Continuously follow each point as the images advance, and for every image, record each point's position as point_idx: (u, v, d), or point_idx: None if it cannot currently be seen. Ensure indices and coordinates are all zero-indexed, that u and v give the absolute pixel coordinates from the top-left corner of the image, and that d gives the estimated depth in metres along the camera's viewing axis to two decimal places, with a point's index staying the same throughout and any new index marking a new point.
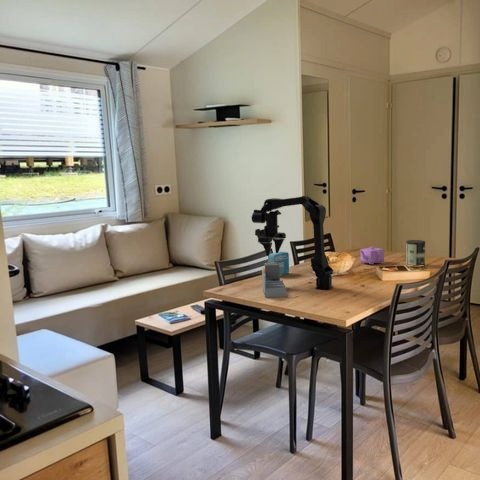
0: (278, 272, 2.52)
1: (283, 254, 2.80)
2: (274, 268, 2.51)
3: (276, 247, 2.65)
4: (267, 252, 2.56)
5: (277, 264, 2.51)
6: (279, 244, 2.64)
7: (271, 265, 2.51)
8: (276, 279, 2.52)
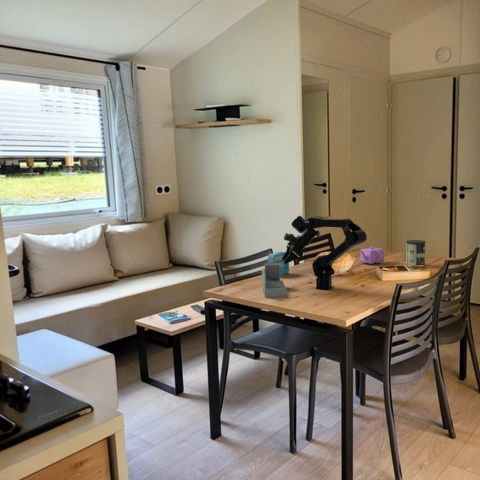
0: (278, 272, 2.52)
1: (283, 254, 2.80)
2: (274, 268, 2.51)
3: (285, 255, 2.57)
4: (287, 261, 2.47)
5: (277, 264, 2.51)
6: None
7: (271, 265, 2.51)
8: (276, 279, 2.52)
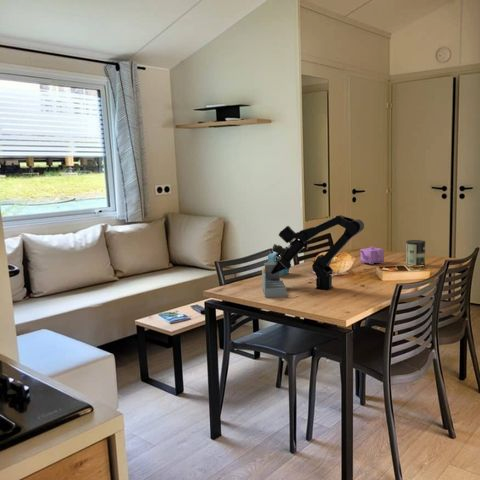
0: (278, 272, 2.52)
1: None
2: None
3: None
4: (274, 271, 2.51)
5: None
6: None
7: (271, 265, 2.51)
8: (276, 279, 2.52)
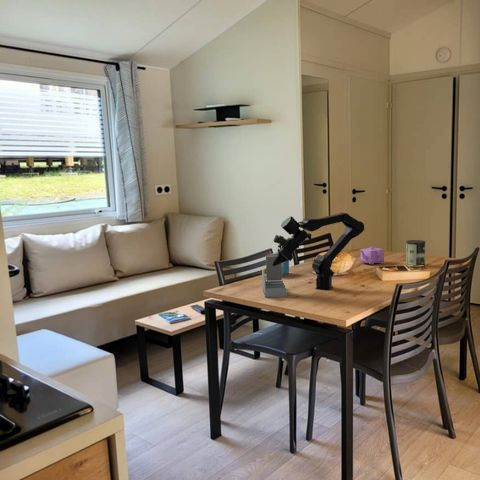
0: (280, 264, 2.40)
1: None
2: None
3: None
4: (276, 263, 2.39)
5: None
6: None
7: (273, 256, 2.40)
8: (278, 271, 2.41)
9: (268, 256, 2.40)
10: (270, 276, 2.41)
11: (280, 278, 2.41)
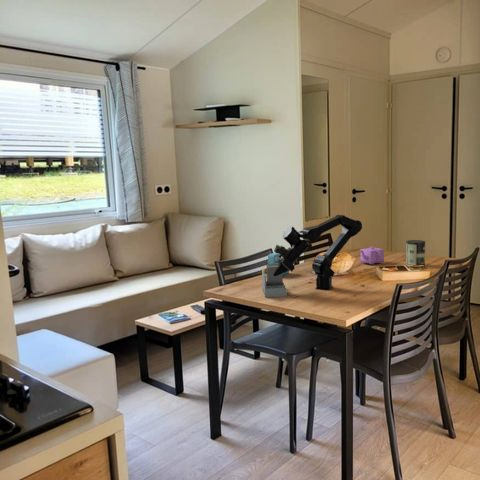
0: (281, 274, 2.40)
1: None
2: None
3: None
4: (277, 273, 2.39)
5: None
6: None
7: (274, 267, 2.39)
8: (279, 282, 2.40)
9: (269, 266, 2.39)
10: None
11: None
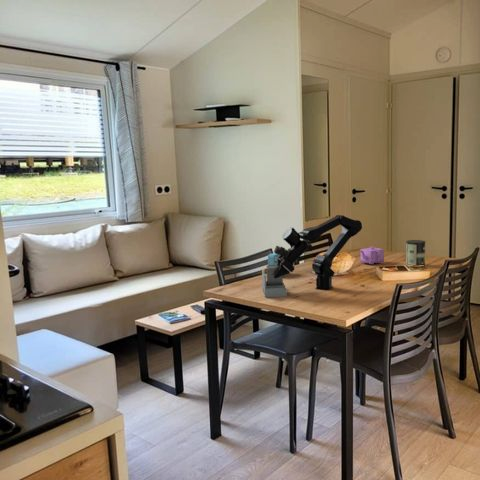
0: None
1: None
2: None
3: None
4: (277, 275, 2.36)
5: None
6: None
7: (274, 268, 2.39)
8: (279, 283, 2.40)
9: (269, 267, 2.39)
10: None
11: None
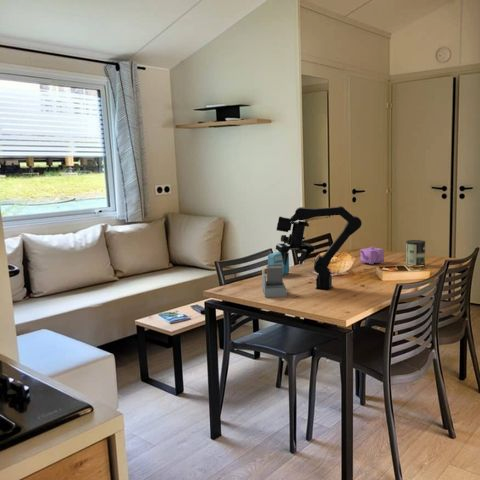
0: (281, 275, 2.40)
1: None
2: (277, 271, 2.39)
3: (301, 258, 2.51)
4: (283, 261, 2.47)
5: (280, 267, 2.39)
6: (304, 256, 2.50)
7: (274, 268, 2.39)
8: (279, 283, 2.40)
9: (269, 267, 2.39)
10: None
11: None
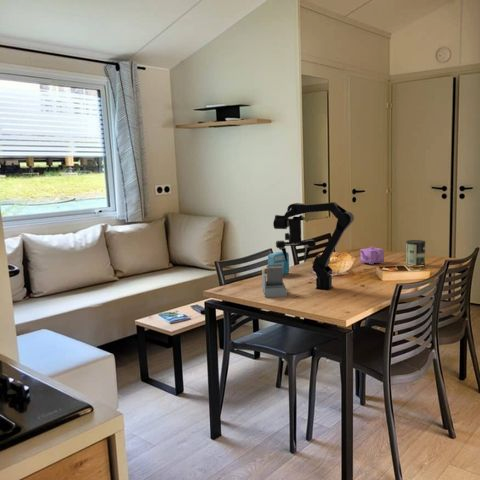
0: (281, 275, 2.40)
1: (283, 254, 2.80)
2: (277, 271, 2.39)
3: (305, 254, 2.52)
4: None
5: (280, 267, 2.39)
6: (306, 252, 2.50)
7: (274, 268, 2.39)
8: (279, 283, 2.40)
9: (269, 267, 2.39)
10: None
11: None
